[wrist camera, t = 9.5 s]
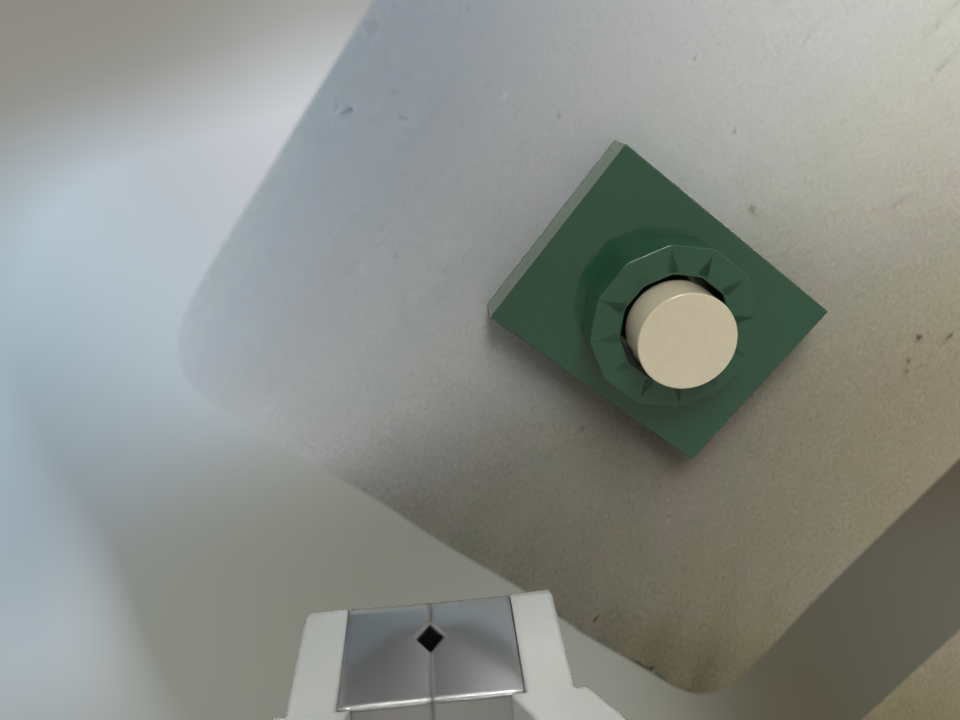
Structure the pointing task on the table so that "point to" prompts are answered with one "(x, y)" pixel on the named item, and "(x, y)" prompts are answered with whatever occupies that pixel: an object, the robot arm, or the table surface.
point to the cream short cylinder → (681, 334)
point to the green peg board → (633, 270)
